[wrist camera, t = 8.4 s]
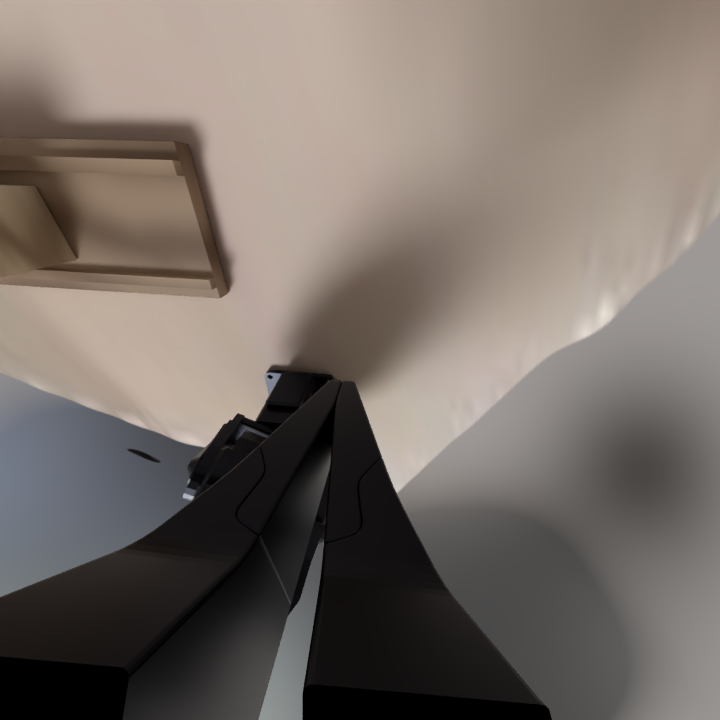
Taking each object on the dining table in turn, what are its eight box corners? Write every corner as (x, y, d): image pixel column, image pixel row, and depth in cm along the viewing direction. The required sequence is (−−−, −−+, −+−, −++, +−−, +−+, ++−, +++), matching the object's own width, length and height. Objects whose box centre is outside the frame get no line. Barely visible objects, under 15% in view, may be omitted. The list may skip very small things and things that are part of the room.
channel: (228, 292, 20) (215, 301, 19) (-23, 277, 22) (-53, 283, 20) (188, 144, 15) (166, 140, 14) (-137, 136, 16) (-189, 131, 15)
